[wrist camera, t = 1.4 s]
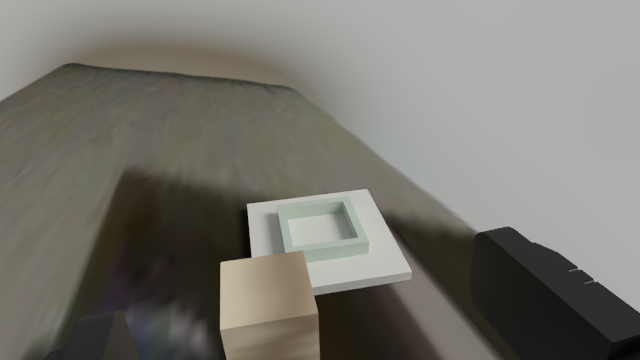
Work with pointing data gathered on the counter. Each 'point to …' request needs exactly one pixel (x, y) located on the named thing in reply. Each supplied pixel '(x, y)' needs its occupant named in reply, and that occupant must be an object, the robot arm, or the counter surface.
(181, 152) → the counter surface
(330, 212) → the base plate
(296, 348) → the beige square block
